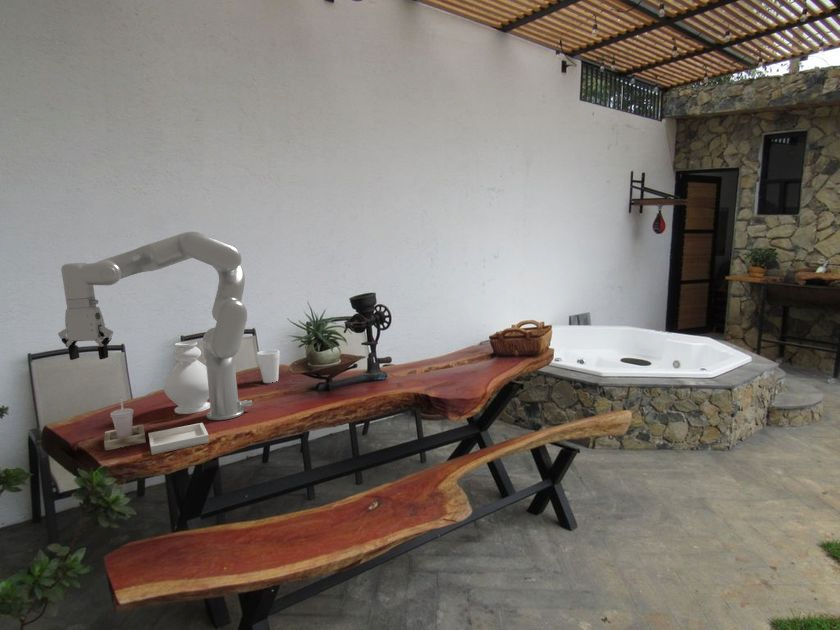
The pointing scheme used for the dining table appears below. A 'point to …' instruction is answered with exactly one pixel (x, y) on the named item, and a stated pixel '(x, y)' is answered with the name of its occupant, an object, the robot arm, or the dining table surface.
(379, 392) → the dining table surface
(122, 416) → the smoothie
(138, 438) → the frame
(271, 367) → the foam cup
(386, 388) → the dining table surface
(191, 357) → the decorative vase
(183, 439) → the tray
